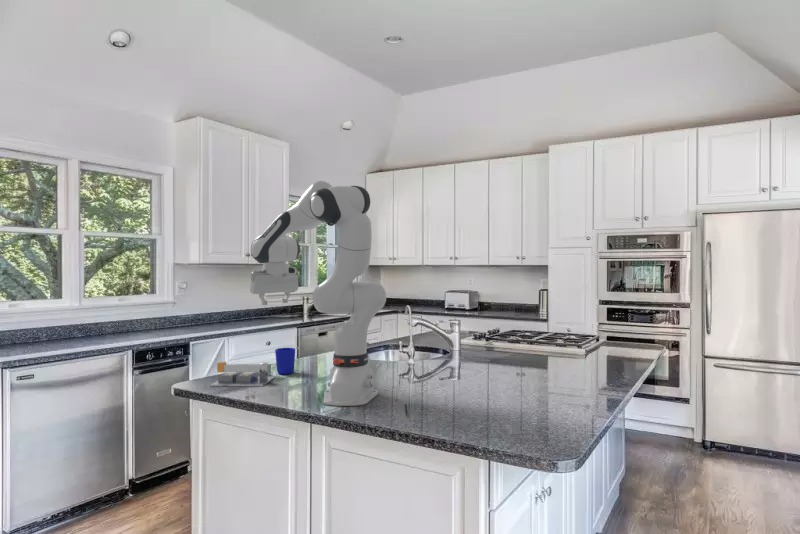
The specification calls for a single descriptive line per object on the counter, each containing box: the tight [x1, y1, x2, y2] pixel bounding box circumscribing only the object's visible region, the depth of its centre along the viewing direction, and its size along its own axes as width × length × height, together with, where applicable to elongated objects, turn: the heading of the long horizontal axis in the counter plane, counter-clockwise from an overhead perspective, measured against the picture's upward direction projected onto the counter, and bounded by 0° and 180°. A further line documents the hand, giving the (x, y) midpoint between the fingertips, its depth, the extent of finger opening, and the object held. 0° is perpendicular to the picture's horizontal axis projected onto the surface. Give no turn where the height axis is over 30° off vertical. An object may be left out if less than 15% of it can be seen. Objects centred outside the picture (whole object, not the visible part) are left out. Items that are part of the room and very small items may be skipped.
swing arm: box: [216, 361, 269, 373], centre depth 199 cm, size 3×19×4 cm, turn 86°
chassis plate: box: [210, 371, 275, 387], centre depth 199 cm, size 14×20×4 cm
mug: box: [274, 347, 296, 375], centre depth 216 cm, size 8×12×10 cm
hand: (274, 304), depth 206 cm, fingers open, 8 cm apart
